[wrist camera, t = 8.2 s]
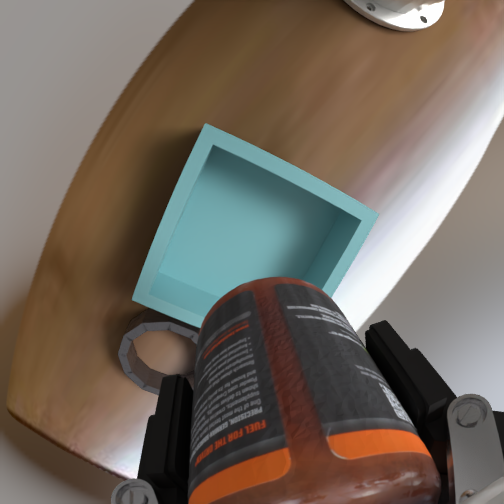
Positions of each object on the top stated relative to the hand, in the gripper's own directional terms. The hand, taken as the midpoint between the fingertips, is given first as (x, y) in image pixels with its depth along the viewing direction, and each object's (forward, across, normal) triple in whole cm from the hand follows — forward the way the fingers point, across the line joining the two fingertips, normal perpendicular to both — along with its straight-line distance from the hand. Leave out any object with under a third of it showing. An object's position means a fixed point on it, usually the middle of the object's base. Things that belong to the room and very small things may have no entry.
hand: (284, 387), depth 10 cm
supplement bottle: (+3, 0, 0) cm, 3 cm away
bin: (+17, 0, 0) cm, 17 cm away
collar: (+17, +10, +8) cm, 21 cm away
